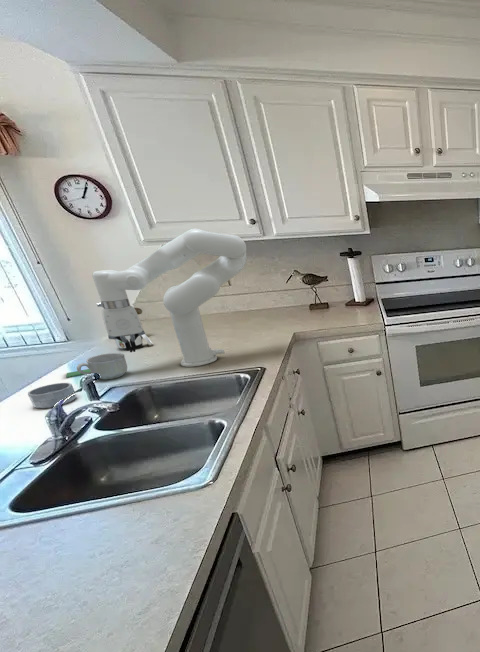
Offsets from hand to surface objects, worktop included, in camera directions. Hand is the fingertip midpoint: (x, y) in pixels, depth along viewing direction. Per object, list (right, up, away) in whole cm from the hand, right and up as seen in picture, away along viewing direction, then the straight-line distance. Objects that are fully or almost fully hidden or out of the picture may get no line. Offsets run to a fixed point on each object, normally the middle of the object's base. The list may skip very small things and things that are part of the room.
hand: (132, 351), depth 159 cm
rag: (-22, -9, +1) cm, 23 cm away
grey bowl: (-5, -18, -23) cm, 30 cm away
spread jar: (-27, +4, +32) cm, 42 cm away
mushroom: (-38, +9, +46) cm, 61 cm away
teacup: (-7, -11, -3) cm, 13 cm away
